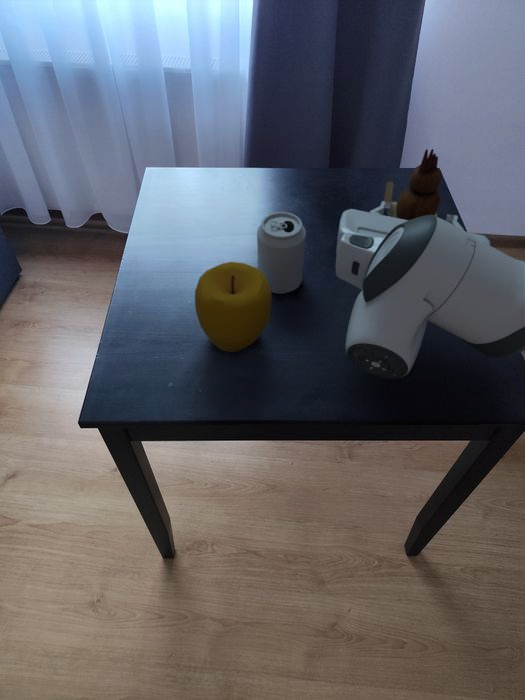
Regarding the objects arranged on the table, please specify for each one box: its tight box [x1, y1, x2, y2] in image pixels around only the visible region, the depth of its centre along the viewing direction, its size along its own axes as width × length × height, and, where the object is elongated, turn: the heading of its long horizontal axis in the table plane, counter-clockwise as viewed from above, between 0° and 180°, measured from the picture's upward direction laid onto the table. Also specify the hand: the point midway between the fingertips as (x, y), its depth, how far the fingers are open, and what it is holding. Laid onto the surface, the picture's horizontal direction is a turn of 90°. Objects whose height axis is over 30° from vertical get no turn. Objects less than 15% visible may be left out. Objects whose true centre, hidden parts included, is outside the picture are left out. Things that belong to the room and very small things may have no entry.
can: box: [256, 211, 307, 295], centre depth 76 cm, size 8×8×12 cm
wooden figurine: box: [396, 148, 442, 220], centre depth 79 cm, size 7×6×15 cm
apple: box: [194, 261, 272, 353], centre depth 68 cm, size 11×11×13 cm
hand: (418, 212), depth 70 cm, fingers open, 8 cm apart
